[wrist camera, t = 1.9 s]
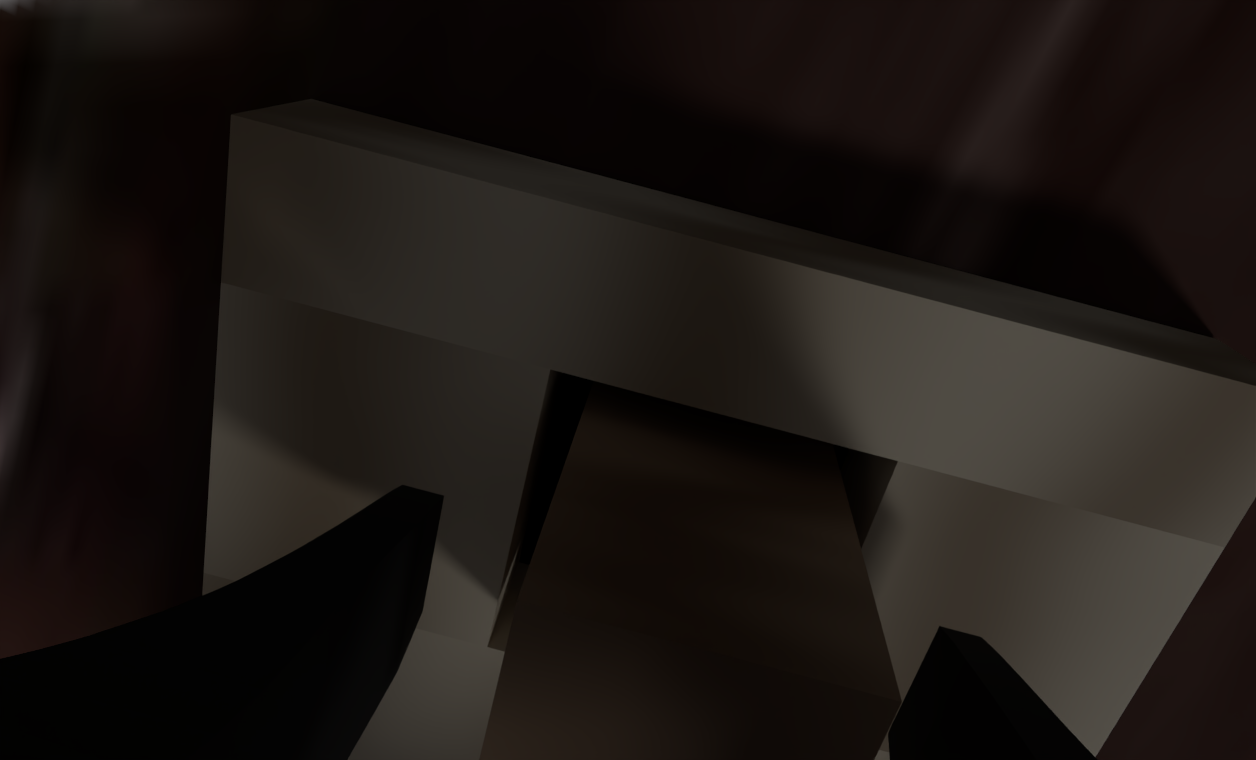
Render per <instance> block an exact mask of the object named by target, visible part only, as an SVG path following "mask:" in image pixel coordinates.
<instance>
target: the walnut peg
mask: <svg viewBox="0 0 1256 760" xmlns="http://www.w3.org/2000/svg"><path fill="white" fill-rule="evenodd" d="M901 703H902V700H901V696H900V692H899V689H898V685H897V681H896V677H895V674H894V670H893V666H892V662H891V659H890V655H889V651H888V647H887V644H886V640H885V636H884V633H883V629H882V625H881V621H880V618H879V614H878V610H877V606H876V603H875V599H874V595H873V592H872V588H871V584H870V580H869V577H868V573H867V569H866V565H865V562H864V558H863V554H862V551H861V547H860V543H859V539H858V536H857V532H856V528H855V524H854V521H853V517H852V513H851V509H850V506H849V502H848V498H847V495H846V491H845V487H844V483H843V480H842V476H841V472H840V468H839V465H838V461H837V457H836V454H835V450H834V446H833V444H831V443H827V442H824V441H820V440H816V439H812V438H809V437H805V436H801V435H797V434H793V433H790V432H786V431H782V430H778V429H774V428H771V427H767V426H763V425H759V424H756V423H752V422H748V421H744V420H740V419H737V418H733V417H729V416H725V415H721V414H718V413H714V412H710V411H706V410H702V409H699V408H695V407H691V406H687V405H684V404H680V403H676V402H672V401H668V400H665V399H661V398H657V397H653V396H649V395H646V394H642V393H638V392H634V391H631V390H627V389H623V388H619V387H615V386H612V385H608V384H604V383H600V382H596V381H593V384H592V387H591V390H590V393H589V395H588V398H587V401H586V404H585V407H584V410H583V413H582V416H581V418H580V421H579V424H578V427H577V430H576V433H575V436H574V438H573V441H572V444H571V447H570V450H569V453H568V456H567V459H566V461H565V464H564V467H563V470H562V473H561V476H560V479H559V481H558V484H557V487H556V490H555V493H554V496H553V499H552V501H551V504H550V507H549V510H548V513H547V516H546V519H545V522H544V524H543V527H542V530H541V533H540V536H539V539H538V542H537V544H536V547H535V550H534V553H533V556H532V559H531V562H530V565H529V567H528V570H527V573H526V576H525V579H524V582H523V585H522V587H521V590H520V593H519V596H518V599H517V602H516V607H515V611H514V615H513V619H512V623H511V628H510V632H509V636H508V640H507V645H506V649H505V653H504V657H503V661H502V666H501V670H500V674H499V678H498V682H497V687H496V691H495V695H494V699H493V704H492V708H491V712H490V716H489V720H488V725H487V729H486V733H485V737H484V742H483V746H482V750H481V754H480V758H479V760H874V759H875V757H876V755H877V753H878V751H879V749H880V747H881V745H882V743H883V741H884V738H885V736H886V734H887V732H888V730H889V728H890V726H891V724H892V722H893V720H894V718H895V716H896V713H897V711H898V709H899V707H900V705H901Z"/></svg>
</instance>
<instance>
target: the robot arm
mask: <svg viewBox="0 0 1256 760" xmlns="http://www.w3.org/2000/svg"><path fill="white" fill-rule="evenodd" d="M443 500H444V495H440V494H436V493H432V492H429V491H425V490H421V489H417V488H413V487H410V486H406V485H401V486H399V487H397V488H395V489H393V490H392V491H390V492H389V493H387V494H385V495H384V496H382V497H381V498H379V499H378V500H376V501H375V502H373V503H371V504H370V505H368V506H367V507H365V508H364V509H362V510H361V511H359V512H357V513H356V514H354V515H353V516H351V517H350V518H348V519H346V520H345V521H343V522H342V523H340V524H338V525H337V526H335V527H333V528H332V529H330V530H328V531H327V532H325V533H323V534H322V535H320V536H318V537H317V538H315V539H313V540H312V541H310V542H308V543H306V544H305V545H303V546H301V547H300V548H298V549H296V550H294V551H293V552H291V553H289V554H287V555H285V556H283V557H281V558H279V559H278V560H276V561H274V562H272V563H270V564H268V565H266V566H264V567H262V568H260V569H258V570H256V571H255V572H253V573H251V574H249V575H247V576H245V577H243V578H241V579H239V580H237V581H235V582H233V583H230V584H228V585H226V586H224V587H221V588H219V589H217V590H215V591H212V592H210V593H208V594H205V595H203V596H200V597H198V598H195V599H193V600H190V601H188V602H185V603H183V604H181V605H178V606H176V607H173V608H170V609H168V610H165V611H162V612H159V613H156V614H153V615H150V616H147V617H144V618H141V619H138V620H135V621H132V622H129V623H126V624H123V625H120V626H117V627H114V628H111V629H108V630H105V631H102V632H99V633H96V634H93V635H90V636H87V637H83V638H80V639H76V640H73V641H69V642H65V643H62V644H58V645H54V646H51V647H47V648H43V649H40V650H35V651H31V652H27V653H23V654H19V655H15V656H11V657H6V658H2V659H0V760H348V758H349V756H350V754H351V753H352V751H353V749H354V747H355V746H356V744H357V742H358V741H359V739H360V737H361V735H362V734H363V732H364V730H365V728H366V727H367V725H368V723H369V721H370V720H371V718H372V716H373V714H374V713H375V711H376V709H377V707H378V705H379V704H380V702H381V700H382V698H383V697H384V695H385V693H386V691H387V690H388V688H389V686H390V684H391V682H392V681H393V679H394V677H395V675H396V673H397V671H398V669H399V667H400V664H401V662H402V660H403V657H404V655H405V653H406V650H407V648H408V646H409V643H410V641H411V639H412V636H413V634H414V631H415V629H416V626H417V624H418V622H419V619H420V617H421V614H422V612H423V608H424V602H425V597H426V591H427V586H428V581H429V575H430V570H431V564H432V559H433V554H434V548H435V543H436V537H437V532H438V527H439V521H440V516H441V510H442V505H443ZM888 742H889V756H890V760H1097V759H1096V758H1095V756H1094V755H1093V754H1092V753H1091V752H1090V751H1089V750H1088V749H1087V748H1086V747H1085V746H1084V745H1083V744H1082V743H1081V742H1080V741H1079V740H1078V738H1077V737H1076V736H1075V735H1074V734H1073V733H1072V732H1071V731H1070V730H1069V729H1068V728H1067V727H1066V726H1065V724H1064V723H1063V722H1062V721H1061V720H1060V719H1059V718H1058V717H1057V716H1056V715H1055V714H1054V712H1053V711H1052V710H1051V709H1050V708H1049V707H1048V706H1047V705H1046V704H1045V703H1044V702H1043V700H1042V699H1041V698H1040V697H1039V696H1038V695H1037V694H1036V693H1035V692H1034V691H1033V690H1032V688H1031V687H1030V686H1029V685H1028V684H1027V683H1026V682H1025V681H1024V680H1023V679H1022V678H1021V676H1020V675H1019V674H1018V673H1017V672H1016V671H1015V670H1014V669H1013V668H1012V667H1011V666H1010V665H1009V664H1008V663H1007V662H1006V660H1005V659H1004V658H1003V657H1002V656H1001V655H1000V654H999V653H998V652H997V651H996V650H995V649H994V648H993V647H992V646H991V645H990V644H988V643H987V642H986V641H985V640H984V639H983V638H982V637H980V636H976V635H972V634H968V633H964V632H961V631H957V630H953V629H949V628H945V627H942V626H939V628H938V630H937V632H936V634H935V636H934V638H933V640H932V642H931V645H930V647H929V649H928V651H927V653H926V655H925V657H924V659H923V661H922V663H921V665H920V667H919V669H918V672H917V674H916V676H915V678H914V680H913V682H912V684H911V686H910V688H909V690H908V692H907V694H906V696H905V698H904V701H903V703H902V705H901V707H900V709H899V711H898V713H897V715H896V717H895V719H894V721H893V723H892V725H891V728H890V730H889V732H888Z"/></svg>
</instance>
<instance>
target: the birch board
mask: <svg viewBox="0 0 1256 760" xmlns="http://www.w3.org/2000/svg"><path fill="white" fill-rule="evenodd" d="M563 373H566V374H570V375H574V376H578V377H581V378H585V379H589V380H593V381H596V382H600V383H604V384H608V385H612V386H615V387H619V388H623V389H627V390H631V391H634V392H638V393H642V394H646V395H649V396H653V397H657V398H661V399H665V400H668V401H672V402H676V403H680V404H684V405H687V406H691V407H695V408H699V409H702V410H706V411H710V412H714V413H718V414H721V415H725V416H729V417H733V418H737V419H740V420H744V421H748V422H752V423H756V424H759V425H763V426H767V427H771V428H774V429H778V430H782V431H786V432H790V433H793V434H797V435H801V436H805V437H809V438H812V439H816V440H820V441H824V442H827V443H831V444H835V445H839V446H843V447H846V448H849V450H848V452H847V455H846V457H845V460H844V462H843V465H842V468H841V470H840V472H841V476H842V480H843V483H844V487H845V491H846V495H847V498H848V502H849V506H850V509H851V513H852V517H853V521H854V524H855V528H856V532H857V536H858V539H859V543H860V547H861V551H862V554H863V558H864V562H865V565H866V569H867V573H868V577H869V580H870V584H871V588H872V592H873V595H874V599H875V603H876V606H877V610H878V614H879V618H880V621H881V625H882V629H883V633H884V636H885V640H886V644H887V647H888V651H889V655H890V659H891V662H892V666H893V670H894V674H895V677H896V681H897V685H898V689H899V692H900V696H901V700H902V703H903V701H904V698H905V696H906V694H907V692H908V690H909V688H910V686H911V684H912V682H913V680H914V678H915V676H916V674H917V672H918V669H919V667H920V665H921V663H922V661H923V659H924V657H925V655H926V653H927V651H928V649H929V647H930V645H931V642H932V640H933V638H934V636H935V634H936V632H937V630H938V628H939V626H942V627H945V628H949V629H953V630H957V631H961V632H964V633H968V634H972V635H976V636H980V637H982V638H983V639H984V640H985V641H986V642H987V643H988V644H990V645H991V646H992V647H993V648H994V649H995V650H996V651H997V652H998V653H999V654H1000V655H1001V656H1002V657H1003V658H1004V659H1005V660H1006V662H1007V663H1008V664H1009V665H1010V666H1011V667H1012V668H1013V669H1014V670H1015V671H1016V672H1017V673H1018V674H1019V675H1020V676H1021V678H1022V679H1023V680H1024V681H1025V682H1026V683H1027V684H1028V685H1029V686H1030V687H1031V688H1032V690H1033V691H1034V692H1035V693H1036V694H1037V695H1038V696H1039V697H1040V698H1041V699H1042V700H1043V702H1044V703H1045V704H1046V705H1047V706H1048V707H1049V708H1050V709H1051V710H1052V711H1053V712H1054V714H1055V715H1056V716H1057V717H1058V718H1059V719H1060V720H1061V721H1062V722H1063V723H1064V724H1065V726H1066V727H1067V728H1068V729H1069V730H1070V731H1071V732H1072V733H1073V734H1074V735H1075V736H1076V737H1077V738H1078V740H1079V741H1080V742H1081V743H1082V744H1083V745H1084V746H1085V747H1086V748H1087V749H1088V750H1089V751H1090V752H1091V753H1092V754H1093V755H1094V756H1095V757H1096V755H1097V754H1098V752H1099V750H1100V749H1101V747H1102V745H1103V744H1104V742H1105V741H1106V739H1107V737H1108V736H1109V734H1110V732H1111V731H1112V729H1113V728H1114V726H1115V724H1116V723H1117V721H1118V719H1119V718H1120V716H1121V715H1122V713H1123V711H1124V710H1125V708H1126V706H1127V705H1128V703H1129V702H1130V700H1131V698H1132V697H1133V695H1134V694H1135V692H1136V690H1137V689H1138V687H1139V685H1140V684H1141V682H1142V681H1143V679H1144V677H1145V676H1146V674H1147V672H1148V671H1149V669H1150V668H1151V666H1152V664H1153V663H1154V661H1155V659H1156V658H1157V656H1158V655H1159V653H1160V651H1161V650H1162V648H1163V646H1164V645H1165V643H1166V642H1167V640H1168V638H1169V637H1170V635H1171V634H1172V632H1173V630H1174V629H1175V627H1176V625H1177V624H1178V622H1179V621H1180V619H1181V617H1182V616H1183V614H1184V612H1185V611H1186V609H1187V608H1188V606H1189V604H1190V603H1191V601H1192V599H1193V598H1194V596H1195V595H1196V593H1197V591H1198V590H1199V588H1200V586H1201V585H1202V583H1203V582H1204V580H1205V578H1206V577H1207V575H1208V574H1209V572H1210V570H1211V569H1212V567H1213V565H1214V564H1215V562H1216V561H1217V559H1218V557H1219V556H1220V554H1221V552H1222V551H1223V549H1224V548H1225V546H1226V544H1227V543H1228V541H1229V539H1230V538H1231V536H1232V535H1233V533H1234V531H1235V530H1236V528H1237V526H1238V525H1239V523H1240V522H1241V520H1242V518H1243V517H1244V515H1245V514H1246V512H1247V510H1248V509H1249V507H1250V505H1251V504H1252V502H1253V501H1254V499H1255V497H1256V364H1255V363H1254V362H1252V361H1250V360H1249V359H1247V358H1246V357H1244V356H1243V355H1241V354H1239V353H1238V352H1236V351H1235V350H1233V349H1232V348H1230V347H1229V346H1227V345H1225V344H1224V343H1222V342H1221V341H1219V340H1218V339H1215V338H1211V337H1207V336H1203V335H1200V334H1196V333H1192V332H1188V331H1185V330H1181V329H1177V328H1173V327H1170V326H1166V325H1162V324H1158V323H1154V322H1151V321H1147V320H1143V319H1139V318H1136V317H1132V316H1128V315H1124V314H1121V313H1117V312H1113V311H1109V310H1105V309H1102V308H1098V307H1094V306H1090V305H1087V304H1083V303H1079V302H1075V301H1072V300H1068V299H1064V298H1060V297H1056V296H1053V295H1049V294H1045V293H1041V292H1038V291H1034V290H1030V289H1026V288H1023V287H1019V286H1015V285H1011V284H1007V283H1004V282H1000V281H996V280H992V279H989V278H985V277H981V276H977V275H974V274H970V273H966V272H962V271H958V270H955V269H951V268H947V267H943V266H940V265H936V264H932V263H928V262H925V261H921V260H917V259H913V258H909V257H906V256H902V255H898V254H894V253H891V252H887V251H883V250H879V249H876V248H872V247H868V246H864V245H860V244H857V243H853V242H849V241H845V240H842V239H838V238H834V237H830V236H827V235H823V234H819V233H815V232H811V231H808V230H804V229H800V228H796V227H793V226H789V225H785V224H781V223H778V222H774V221H770V220H766V219H762V218H759V217H755V216H751V215H747V214H744V213H740V212H736V211H732V210H729V209H725V208H721V207H717V206H713V205H710V204H706V203H702V202H698V201H695V200H691V199H687V198H683V197H680V196H676V195H672V194H668V193H664V192H661V191H657V190H653V189H649V188H646V187H642V186H638V185H634V184H631V183H627V182H623V181H619V180H615V179H612V178H608V177H604V176H600V175H597V174H593V173H589V172H585V171H582V170H578V169H574V168H570V167H566V166H563V165H559V164H555V163H551V162H548V161H544V160H540V159H536V158H533V157H529V156H525V155H521V154H517V153H514V152H510V151H506V150H502V149H499V148H495V147H491V146H487V145H484V144H480V143H476V142H472V141H468V140H465V139H461V138H457V137H453V136H450V135H446V134H442V133H438V132H435V131H431V130H427V129H423V128H419V127H416V126H412V125H408V124H404V123H401V122H397V121H393V120H389V119H386V118H382V117H378V116H374V115H370V114H367V113H363V112H359V111H355V110H352V109H348V108H344V107H340V106H337V105H333V104H329V103H325V102H321V101H318V100H314V99H308V100H303V101H297V102H292V103H287V104H282V105H277V106H272V107H267V108H261V109H256V110H251V111H246V112H241V113H236V114H231V125H230V142H229V158H228V175H227V192H226V208H225V225H224V242H223V258H222V275H221V292H220V309H219V325H218V342H217V359H216V375H215V392H214V409H213V425H212V442H211V459H210V475H209V492H208V509H207V526H206V542H205V559H204V576H203V592H202V596H203V595H205V594H208V593H210V592H212V591H215V590H217V589H219V588H221V587H224V586H226V585H228V584H230V583H233V582H235V581H237V580H239V579H241V578H243V577H245V576H247V575H249V574H251V573H253V572H255V571H256V570H258V569H260V568H262V567H264V566H266V565H268V564H270V563H272V562H274V561H276V560H278V559H279V558H281V557H283V556H285V555H287V554H289V553H291V552H293V551H294V550H296V549H298V548H300V547H301V546H303V545H305V544H306V543H308V542H310V541H312V540H313V539H315V538H317V537H318V536H320V535H322V534H323V533H325V532H327V531H328V530H330V529H332V528H333V527H335V526H337V525H338V524H340V523H342V522H343V521H345V520H346V519H348V518H350V517H351V516H353V515H354V514H356V513H357V512H359V511H361V510H362V509H364V508H365V507H367V506H368V505H370V504H371V503H373V502H375V501H376V500H378V499H379V498H381V497H382V496H384V495H385V494H387V493H389V492H390V491H392V490H393V489H395V488H397V487H399V486H401V485H406V486H410V487H413V488H417V489H421V490H425V491H429V492H432V493H436V494H440V495H444V500H443V505H442V510H441V516H440V521H439V527H438V532H437V537H436V543H435V548H434V554H433V559H432V564H431V570H430V575H429V581H428V586H427V591H426V597H425V602H424V608H423V612H422V614H421V617H420V619H419V622H418V624H417V626H416V629H415V631H414V634H413V636H412V639H411V641H410V643H409V646H408V648H407V650H406V653H405V655H404V657H403V660H402V662H401V664H400V667H399V669H398V671H397V673H396V675H395V677H394V679H393V681H392V682H391V684H390V686H389V688H388V690H387V691H386V693H385V695H384V697H383V698H382V700H381V702H380V704H379V705H378V707H377V709H376V711H375V713H374V714H373V716H372V718H371V720H370V721H369V723H368V725H367V727H366V728H365V730H364V732H363V734H362V735H361V737H360V739H359V741H358V742H357V744H356V746H355V747H354V749H353V751H352V753H351V754H350V756H349V758H348V760H479V758H480V754H481V750H482V746H483V742H484V737H485V733H486V729H487V725H488V720H489V716H490V712H491V708H492V704H493V699H494V695H495V691H496V687H497V682H498V678H499V674H500V670H501V666H502V661H503V657H504V653H505V649H506V645H507V640H508V636H509V632H510V628H511V623H512V619H513V615H514V611H515V607H516V602H517V599H518V596H519V593H520V590H521V587H522V585H523V582H524V579H525V576H526V573H527V570H528V567H529V565H528V564H524V563H520V562H519V559H520V554H521V550H522V546H523V541H524V537H525V533H526V529H527V524H528V520H529V516H530V511H531V507H532V503H533V499H534V494H535V490H536V486H537V481H538V477H539V473H540V468H541V464H542V460H543V456H544V451H545V447H546V443H547V438H548V434H549V430H550V426H551V421H552V417H553V413H554V408H555V404H556V400H557V396H558V391H559V387H560V383H561V378H562V374H563ZM902 703H901V705H902ZM901 705H900V707H901ZM900 707H899V709H900ZM899 709H898V711H899ZM898 711H897V713H898ZM897 713H896V715H897ZM895 717H896V716H895ZM894 719H895V718H894ZM893 721H894V720H893ZM892 723H893V722H892ZM891 725H892V724H891ZM890 728H891V726H890ZM890 728H889V730H890ZM889 730H888V732H889ZM888 732H887V734H886V736H885V738H884V741H883V743H882V745H881V747H880V749H879V751H878V753H877V755H876V757H875V759H874V760H890V756H889V742H888Z"/></svg>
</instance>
